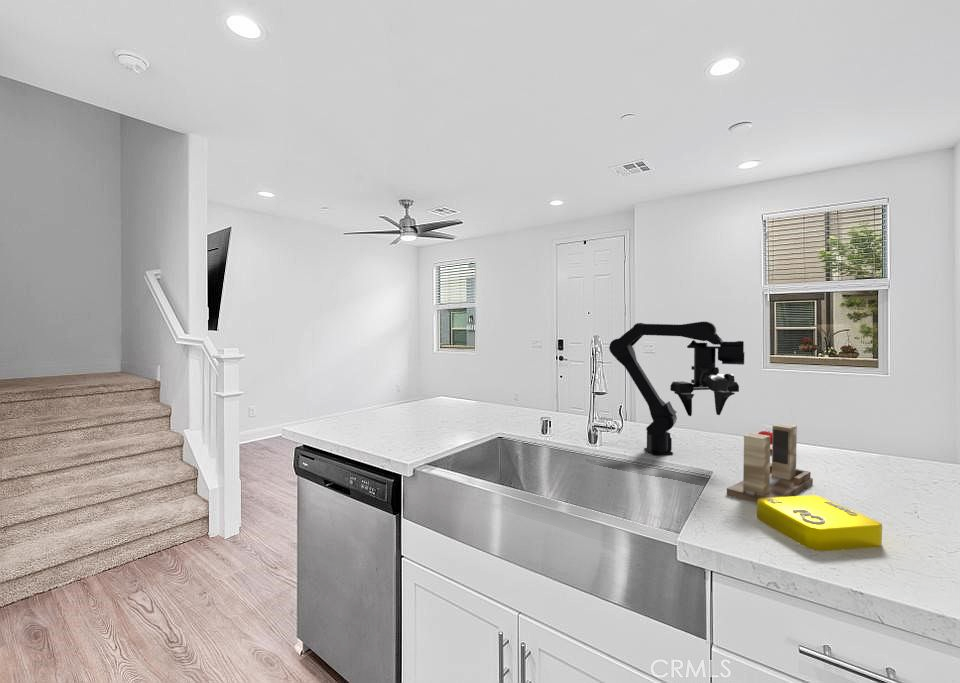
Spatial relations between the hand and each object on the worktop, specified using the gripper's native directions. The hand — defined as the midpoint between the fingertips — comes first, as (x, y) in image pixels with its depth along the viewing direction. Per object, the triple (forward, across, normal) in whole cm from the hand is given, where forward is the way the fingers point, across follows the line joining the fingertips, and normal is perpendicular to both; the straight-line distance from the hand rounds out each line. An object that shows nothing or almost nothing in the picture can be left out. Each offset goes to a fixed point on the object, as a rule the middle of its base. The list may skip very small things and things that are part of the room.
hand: (704, 415), depth 134 cm
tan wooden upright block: (+12, +7, -22) cm, 26 cm away
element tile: (+14, -8, -46) cm, 49 cm away
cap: (+13, +26, +5) cm, 30 cm away
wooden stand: (+13, 0, -26) cm, 29 cm away
